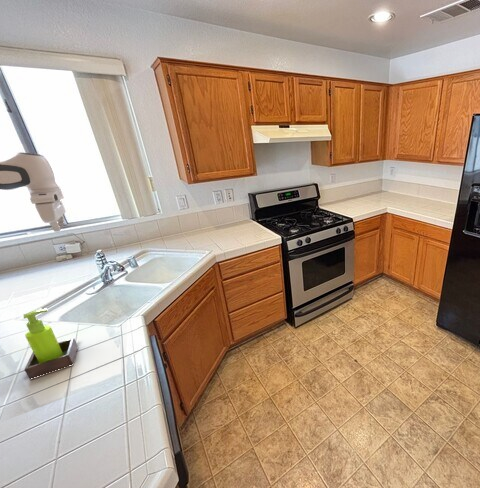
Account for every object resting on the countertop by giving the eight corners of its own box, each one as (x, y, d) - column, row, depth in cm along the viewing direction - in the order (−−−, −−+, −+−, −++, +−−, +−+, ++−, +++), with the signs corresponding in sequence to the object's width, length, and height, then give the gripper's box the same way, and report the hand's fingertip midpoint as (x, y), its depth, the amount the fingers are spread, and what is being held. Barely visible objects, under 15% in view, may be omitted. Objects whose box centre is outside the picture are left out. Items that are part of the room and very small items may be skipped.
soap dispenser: (69, 359, 92) (47, 311, 85) (41, 371, 87) (15, 321, 80) (67, 351, 96) (46, 304, 89) (40, 362, 91) (15, 313, 84)
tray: (30, 380, 85) (24, 369, 83) (38, 360, 93) (33, 349, 91) (73, 365, 90) (68, 355, 89) (78, 347, 99) (74, 337, 97)
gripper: (42, 192, 111) (55, 224, 116) (28, 200, 95) (43, 235, 100) (63, 191, 114) (74, 221, 119) (52, 198, 99) (65, 232, 104)
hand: (60, 228), depth 110 cm, fingers open, 8 cm apart
